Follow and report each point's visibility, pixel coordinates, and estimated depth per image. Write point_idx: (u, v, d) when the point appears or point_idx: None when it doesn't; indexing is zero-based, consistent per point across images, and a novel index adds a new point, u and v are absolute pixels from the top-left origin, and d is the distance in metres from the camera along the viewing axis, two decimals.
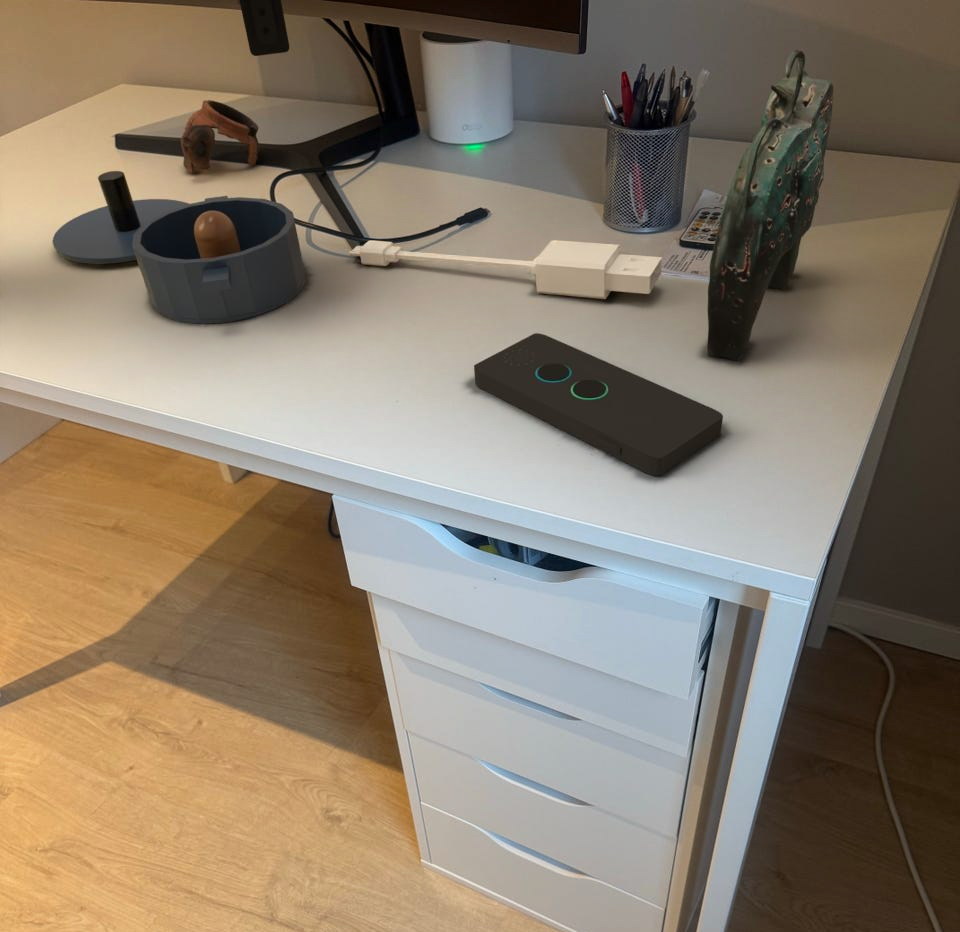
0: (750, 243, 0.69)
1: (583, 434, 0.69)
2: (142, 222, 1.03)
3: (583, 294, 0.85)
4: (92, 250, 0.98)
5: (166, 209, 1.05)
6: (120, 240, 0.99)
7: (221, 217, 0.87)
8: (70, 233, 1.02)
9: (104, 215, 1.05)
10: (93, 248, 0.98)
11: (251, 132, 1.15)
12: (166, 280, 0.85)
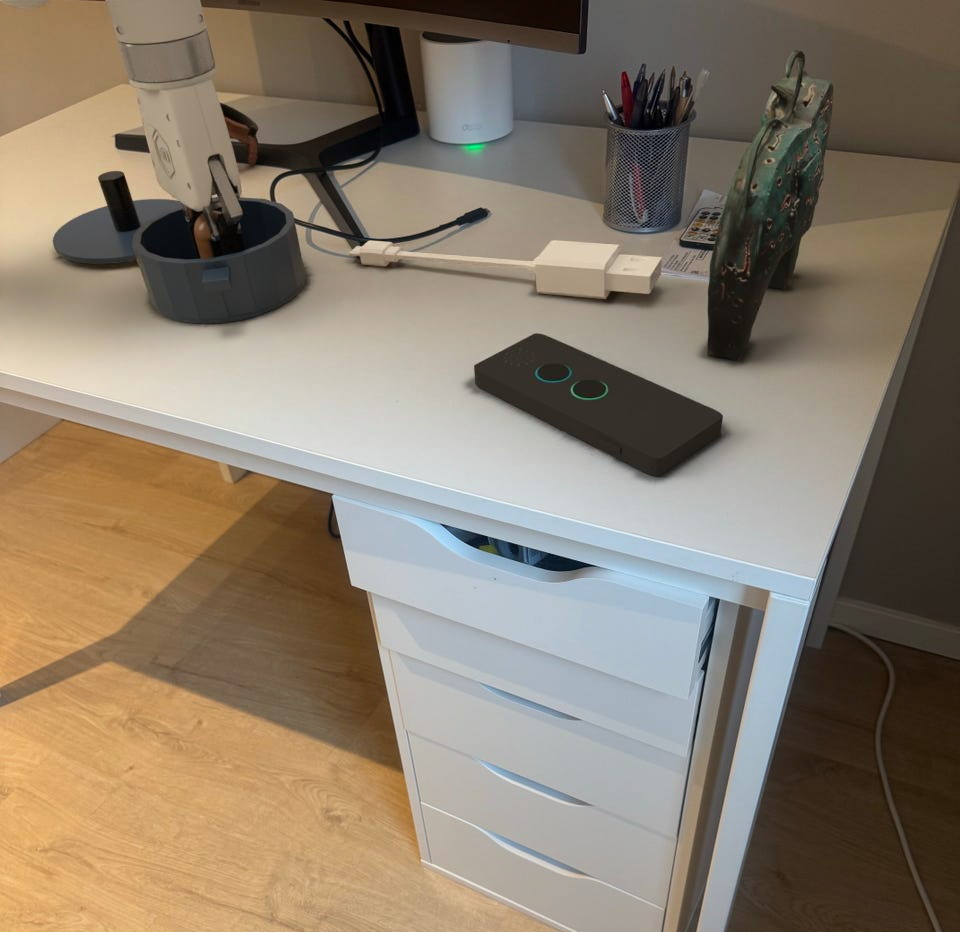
0: (750, 243, 0.69)
1: (583, 434, 0.69)
2: (142, 222, 1.03)
3: (583, 294, 0.85)
4: (92, 250, 0.98)
5: (166, 209, 1.05)
6: (120, 240, 0.99)
7: None
8: (70, 233, 1.02)
9: (104, 215, 1.05)
10: (93, 248, 0.98)
11: (251, 132, 1.15)
12: (166, 280, 0.85)
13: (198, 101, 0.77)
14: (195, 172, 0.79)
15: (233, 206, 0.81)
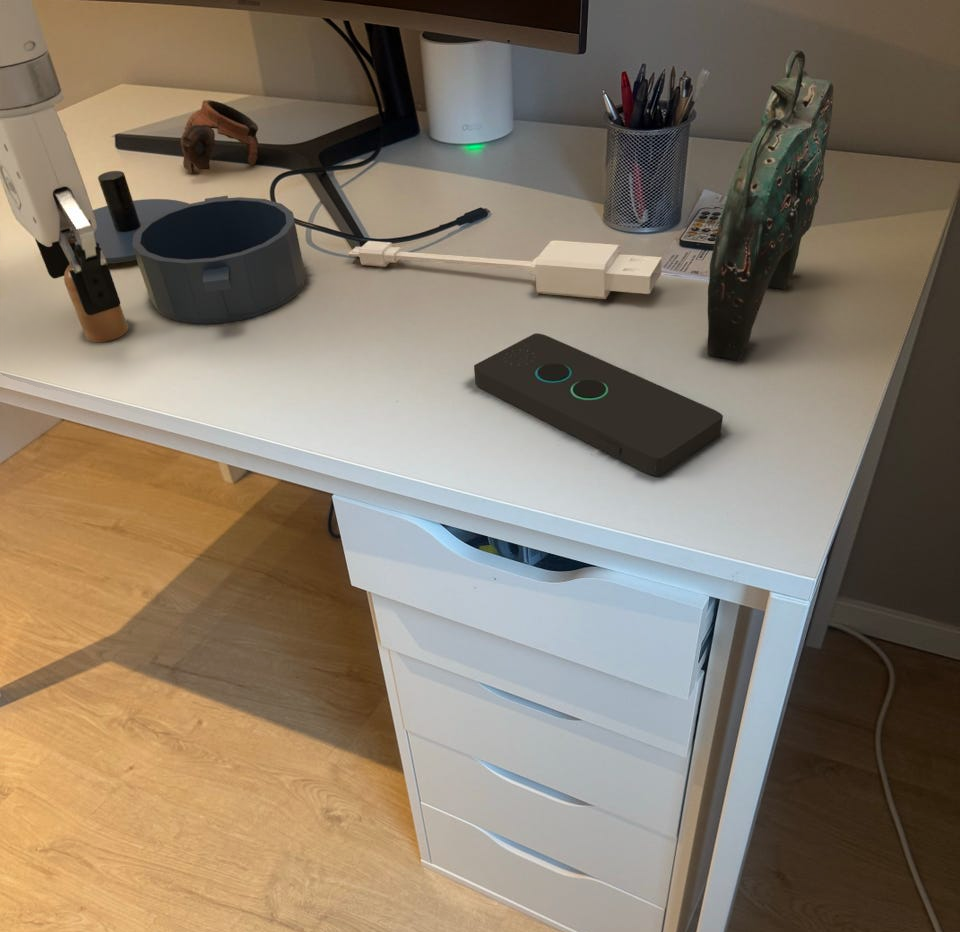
0: (750, 243, 0.69)
1: (583, 434, 0.69)
2: (142, 222, 1.03)
3: (583, 294, 0.85)
4: None
5: (166, 209, 1.05)
6: (120, 240, 0.99)
7: None
8: None
9: (104, 215, 1.05)
10: None
11: (251, 132, 1.15)
12: (166, 280, 0.85)
13: (38, 131, 0.71)
14: (39, 206, 0.74)
15: (81, 223, 0.73)
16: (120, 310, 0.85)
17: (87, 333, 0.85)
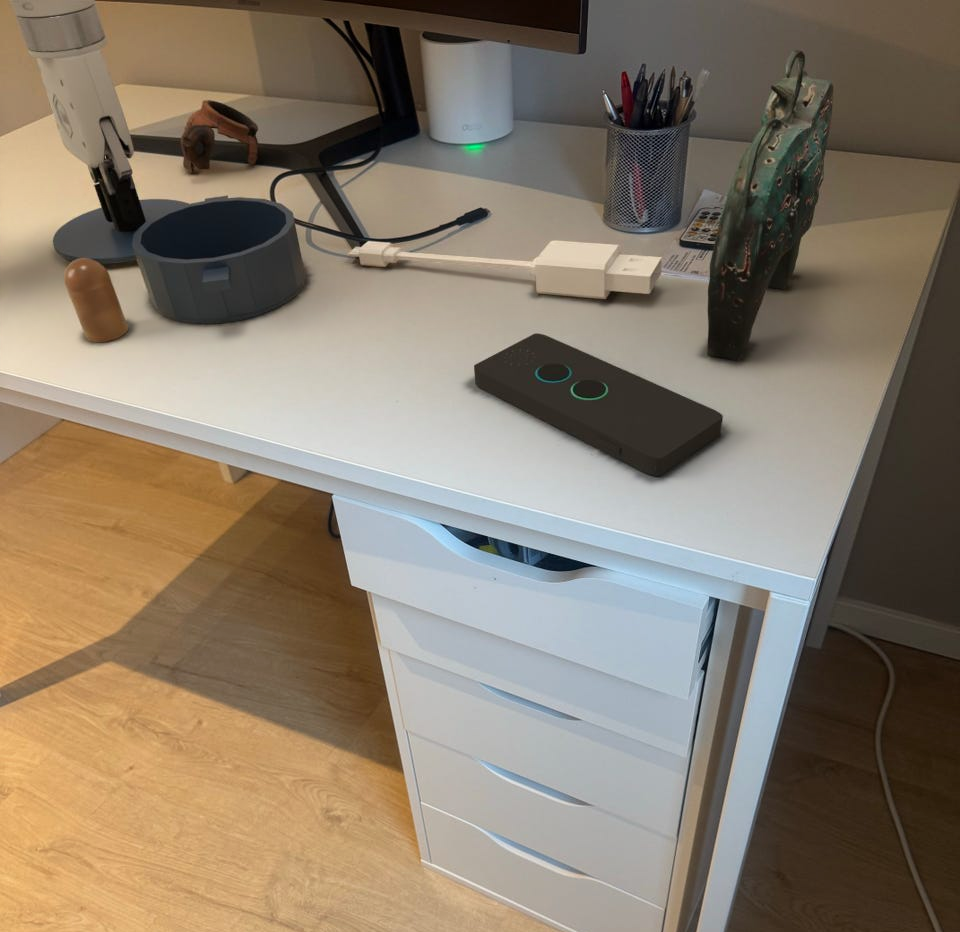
0: (750, 243, 0.69)
1: (583, 434, 0.69)
2: None
3: (583, 294, 0.85)
4: (92, 250, 0.98)
5: (166, 209, 1.05)
6: (120, 240, 0.99)
7: (92, 266, 0.82)
8: (70, 233, 1.02)
9: None
10: (93, 248, 0.98)
11: (251, 132, 1.15)
12: (166, 280, 0.85)
13: (87, 69, 0.88)
14: (88, 132, 0.90)
15: (123, 165, 0.93)
16: (120, 310, 0.85)
17: (87, 333, 0.85)
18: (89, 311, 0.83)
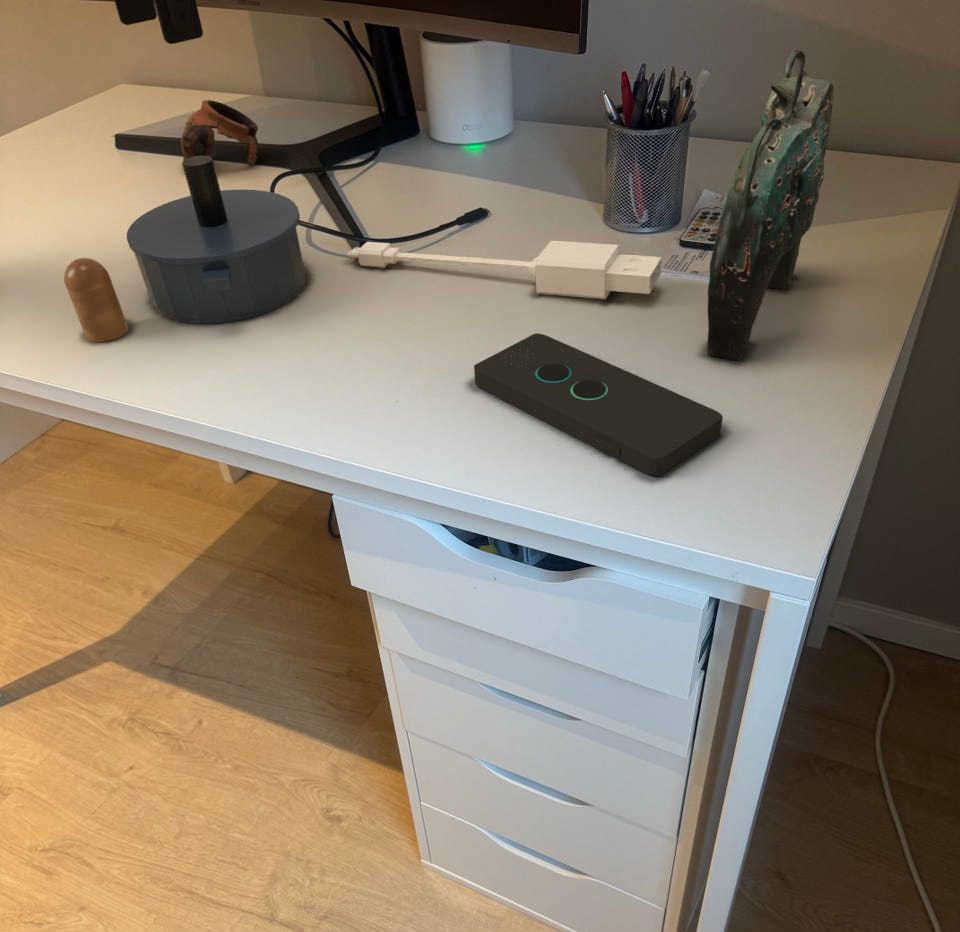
0: (750, 243, 0.69)
1: (583, 434, 0.69)
2: (229, 216, 0.88)
3: (583, 294, 0.85)
4: (175, 249, 0.83)
5: (254, 201, 0.91)
6: (206, 237, 0.85)
7: (92, 266, 0.82)
8: (146, 229, 0.87)
9: (183, 208, 0.90)
10: (176, 246, 0.84)
11: (251, 132, 1.15)
12: (166, 280, 0.85)
13: None
14: None
15: None
16: (120, 310, 0.85)
17: (87, 333, 0.85)
18: (89, 311, 0.83)
